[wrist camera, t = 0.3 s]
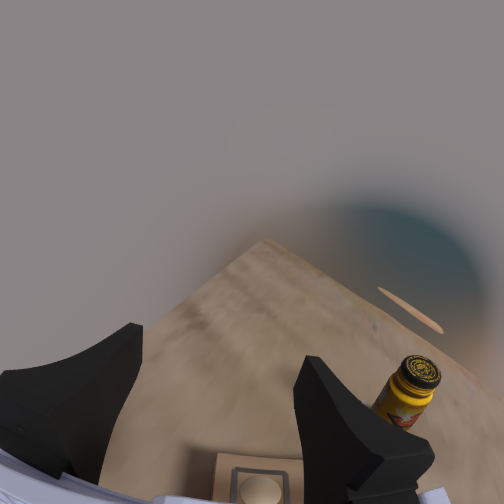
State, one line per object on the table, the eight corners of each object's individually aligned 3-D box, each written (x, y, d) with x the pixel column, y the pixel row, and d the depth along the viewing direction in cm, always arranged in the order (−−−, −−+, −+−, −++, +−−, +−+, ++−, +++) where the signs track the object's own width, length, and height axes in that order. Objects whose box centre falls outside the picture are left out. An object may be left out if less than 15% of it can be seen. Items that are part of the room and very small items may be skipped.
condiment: (387, 462, 27) (440, 397, 23) (335, 428, 32) (375, 359, 28) (407, 429, 32) (453, 365, 28) (361, 401, 38) (397, 334, 33)
